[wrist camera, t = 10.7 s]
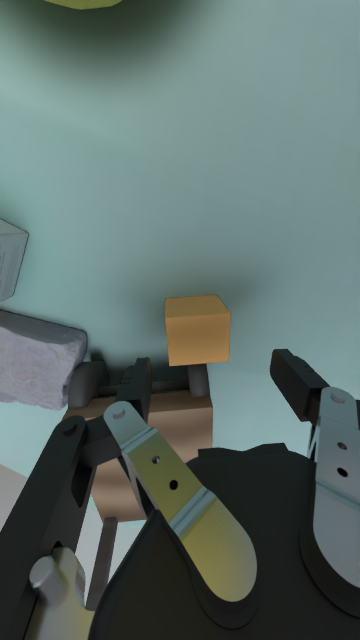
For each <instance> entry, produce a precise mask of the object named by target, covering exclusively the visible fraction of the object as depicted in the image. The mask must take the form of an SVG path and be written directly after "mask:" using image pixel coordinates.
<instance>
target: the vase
mask: <svg viewBox="0 0 360 640" xmlns="http://www.w3.org/2000/svg"><path fill="white" fill-rule="evenodd" d="M44 1H48V2H51V3H55V4H58V5H62V6H66V7H70V8H75V9H80V10H83V9H92V8H101V7H111V6H113V5H115V4H117V3H119V2H121V1H122V0H44Z"/></svg>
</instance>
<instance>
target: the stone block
mask: <svg viewBox="0 0 360 640" xmlns="http://www.w3.org/2000/svg"><path fill="white" fill-rule="evenodd" d="M86 342H87V336H86V334H85V333H84V332H82V331H80V330H78V329H74V328H70V327H66V326H62V325H58V324H54V323H50V322H46V321H42V320H38V319H34V318H30V317H26V316H22V315H18V314H13V313H8V312H5V311H3V310H0V402H7V403H8V402H20V403H24V404H27V405H34V406H40V407H42V408H46V409H52V410H61V409H62V408H64V407H65V405H66V404H67V403H68V390H69V384H70V380H71V377H72V374H73V372H74V370H75V369H76V367H77V366H78V365H79V364H80V363H82V362H83V358H84V355H85V351H86Z"/></svg>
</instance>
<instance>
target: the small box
mask: <svg viewBox="0 0 360 640" xmlns="http://www.w3.org/2000/svg"><path fill="white" fill-rule="evenodd" d="M27 238H28V233H27V232H25V231H23V230H21V229H19V228H17V227H15V226H13V225H11V224H9V223H7V222H5V221H3V220H1V219H0V301H2V300H5V299H7V298H9V297H11V296H12V295H13V294H14V290H15V286H16V282H17V278H18V274H19V270H20V266H21V262H22V258H23V254H24V250H25V246H26V242H27Z"/></svg>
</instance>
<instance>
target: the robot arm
mask: <svg viewBox="0 0 360 640" xmlns="http://www.w3.org/2000/svg"><path fill="white" fill-rule="evenodd" d="M270 375H271V378H272V380H273V381H274V382H275V384H276V385H277V387H278V388H279V390H280V391H281V393H282V394H283V396H284V397H285V399H286V400H287V402H288V403H289V405H290V406H291V408H292V409H293V411H294V412H295V414H296V415H297V417H298V418H299V420H300V421H301V422H305V421H310V422H311V424H312V425H311V428H310V436H309V443H308V450H307V457H305V456H303V455H301V454H298V453H296V452H292V451H288V449H287V447H286V445H285V443H273V444H262V445H260V446H257V447H254V448H252V449H249V450H246V451H236V450H231V449H225V448H219V447H218V448H204V449H198V457H195V458H193V459H191V460H189V461H188V462H186V463H184V462H183V461H182V459H181V458H180V457H179V456H178V454H177V453H176V452H175V451H174V450H173V448H172V447H171V446H170V445H169V443H168V442H167V441H166V440H165V439H164V437H163V436H162V435H161V434H160V433H159V431H158V430H157V429H156V428H154V427H153V428H151V429H150V428H149V426H148V425H147V423H148V415H149V407H150V399H151V391H152V373H151V366H150V359H149V357H147V358H137V361H136V364H135V366H131V367H128V368H127V370H126V371H125V372H124V374H123V377H122V380H121V383H120V386H119V389H118V392H117V395H116V398H115V401H114V404H112V405H110V406H109V407H108V408H107V409H106V411H105V413H104V414H103V415H101V416H99V417H96V418H93V419H90V420H87V421H86V420H85V418H84V417H82V416H80V415H74V416H70V417H68V418H66V419H64V420H62V421H61V422H60V423H59V424H58V425H57V426H56V427H55V429H54V430H53V432H52V434H51V436H50V438H49V440H48V442H47V444H46V446H45V448H44V449H43V451H42V453H41V455H40V457H39V459H38V461H37V463H36V465H35V467H34V469H33V471H32V472H31V474H30V476H29V478H28V480H27V482H26V484H25V486H24V488H23V490H22V492H21V494H20V496H19V498H18V499H17V501H16V503H15V505H14V507H13V509H12V511H11V513H10V515H9V517H8V519H7V520H6V522H5V524H4V526H3V528H2V530H1V532H0V640H360V400H355V399H354V397H353V396H352V395H350V394H349V393H348V392H346V391H344V390H342V389H339V388H335V387H331V386H330V385H329V384H328V383H327V382H326V381H325V380H324V379H323V378H322V377H321V376H319V375H318V374H317V373H316V372H315V371H314V370H313V369H312V368H311V367H310V366H309V365H308V364H307V363H306V362H305V361H304V360H303V359H301V358H299V357H297V356H294V355H293V354H292V353H291V352H290V351H289V350H288V349H274V350H273V352H272V359H271V365H270ZM115 458H116V460H117V461H118V463H119V465H120V467H121V469H122V471H123V473H124V475H125V477H126V479H127V481H128V482H129V484H130V486H131V488H132V490H133V493H134V495H135V498H136V500H137V503H138V505H139V507H140V509H141V511H142V513H143V515H144V517H145V519H146V523H145V524H144V526H143V528H142V529H141V531H140V532H139V534H138V536H137V537H136V539H135V541H134V542H133V544H132V546H131V547H130V549H129V551H128V552H127V554H126V555H125V557H124V558H123V560H122V562H121V564H120V565H119V567H118V568H117V570H116V571H115V573H114V575H113V576H112V578H111V580H110V581H109V583H108V585H107V586H106V588H105V590H104V592H103V594H102V596H101V598H100V600H99V603H98V605H97V608H96V610H95V611H88V610H86V609H85V604H84V592H85V572H84V569H83V568H82V566H81V564H80V562H79V561H78V559H77V557H76V556H75V551H76V548H77V543H78V539H79V536H80V532H81V528H82V524H83V520H84V516H85V513H86V509H87V505H88V501H89V497H90V493H91V489H92V485H93V481H94V478H95V474H96V470H97V466H98V465H100V464H103V463H105V462H108V461H110V460H113V459H115Z"/></svg>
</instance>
